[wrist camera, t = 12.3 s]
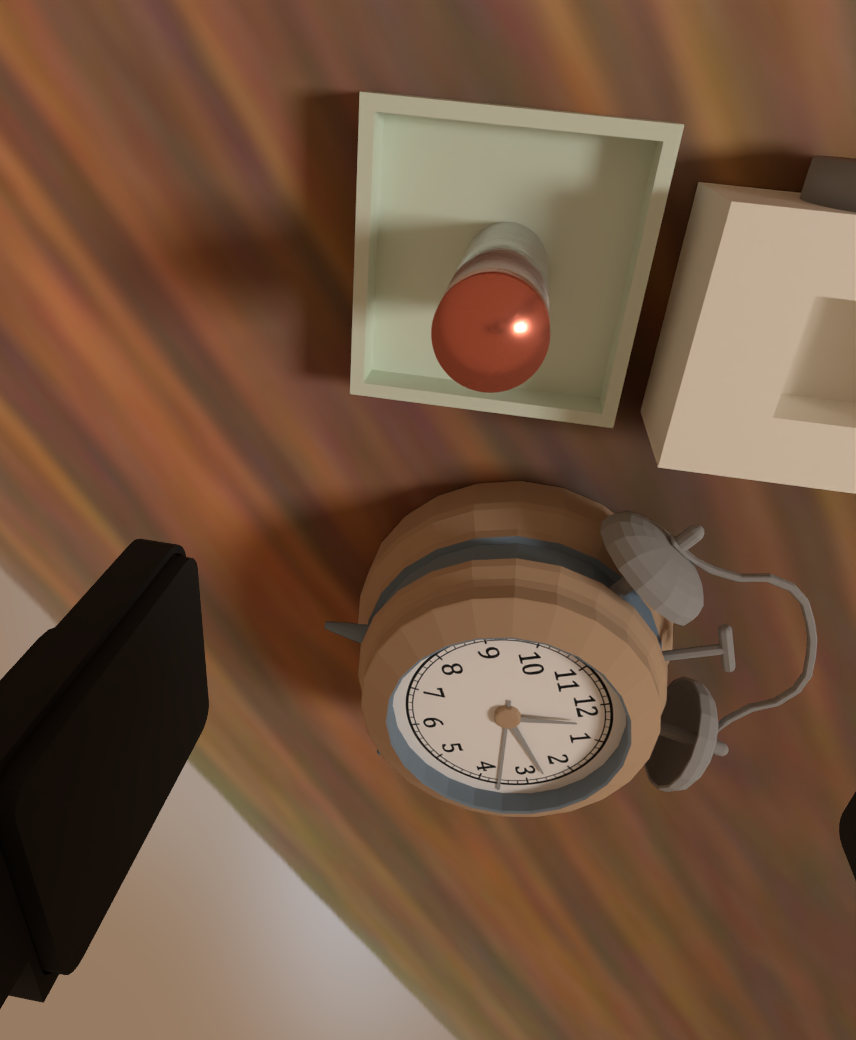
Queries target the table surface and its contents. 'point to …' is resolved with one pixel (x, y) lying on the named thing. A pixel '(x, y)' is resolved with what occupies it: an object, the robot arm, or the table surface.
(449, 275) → the tray
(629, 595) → the alarm clock
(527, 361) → the pin
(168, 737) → the robot arm
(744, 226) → the block
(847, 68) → the table surface
